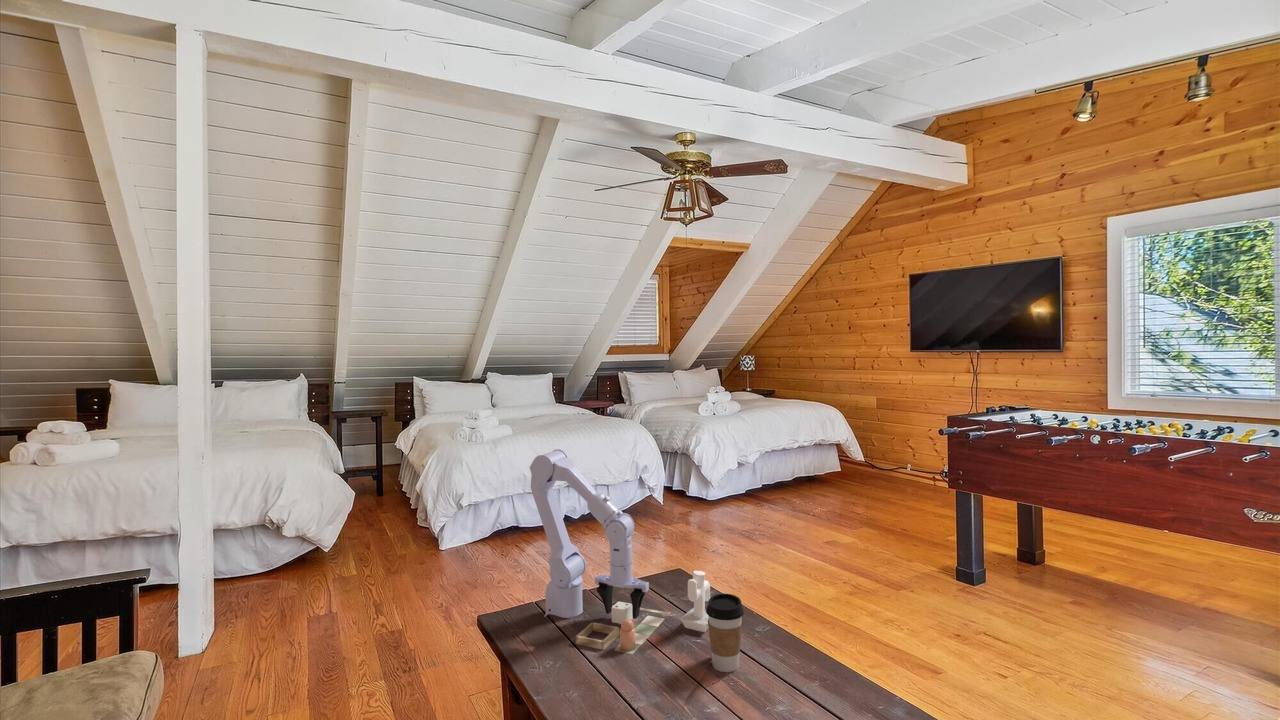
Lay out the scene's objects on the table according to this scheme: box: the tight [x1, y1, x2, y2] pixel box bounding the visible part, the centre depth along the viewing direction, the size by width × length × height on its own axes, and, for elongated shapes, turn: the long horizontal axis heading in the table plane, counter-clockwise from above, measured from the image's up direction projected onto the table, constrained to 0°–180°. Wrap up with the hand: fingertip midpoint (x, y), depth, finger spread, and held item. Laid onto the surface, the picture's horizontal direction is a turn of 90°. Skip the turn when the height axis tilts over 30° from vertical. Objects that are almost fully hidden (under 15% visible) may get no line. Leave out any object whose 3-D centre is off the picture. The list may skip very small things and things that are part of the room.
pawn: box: [619, 619, 636, 651], centre depth 154 cm, size 4×4×7 cm
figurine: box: [680, 570, 711, 633], centre depth 165 cm, size 7×9×15 cm
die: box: [611, 601, 633, 625], centre depth 169 cm, size 4×4×4 cm
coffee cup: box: [705, 593, 745, 673], centre depth 148 cm, size 8×8×15 cm
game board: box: [575, 607, 672, 655], centre depth 164 cm, size 15×26×3 cm, turn 156°
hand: (622, 614), depth 169 cm, fingers open, 7 cm apart
